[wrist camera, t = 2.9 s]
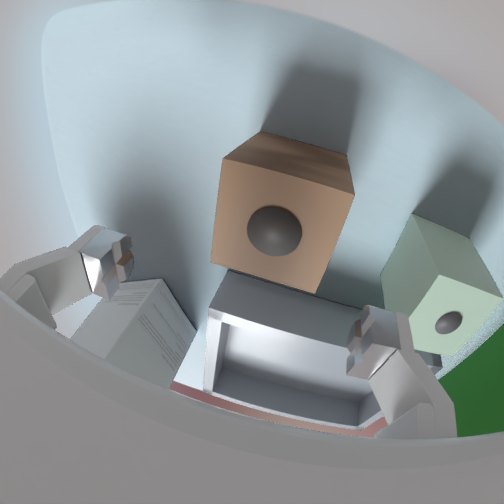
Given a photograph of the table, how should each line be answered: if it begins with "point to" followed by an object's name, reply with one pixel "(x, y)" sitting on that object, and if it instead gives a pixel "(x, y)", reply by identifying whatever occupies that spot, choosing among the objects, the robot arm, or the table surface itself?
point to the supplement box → (139, 331)
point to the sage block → (438, 286)
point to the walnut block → (281, 209)
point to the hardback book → (479, 389)
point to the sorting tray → (287, 354)
